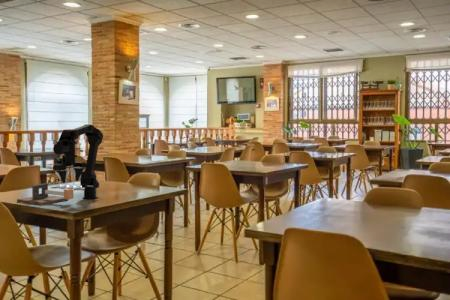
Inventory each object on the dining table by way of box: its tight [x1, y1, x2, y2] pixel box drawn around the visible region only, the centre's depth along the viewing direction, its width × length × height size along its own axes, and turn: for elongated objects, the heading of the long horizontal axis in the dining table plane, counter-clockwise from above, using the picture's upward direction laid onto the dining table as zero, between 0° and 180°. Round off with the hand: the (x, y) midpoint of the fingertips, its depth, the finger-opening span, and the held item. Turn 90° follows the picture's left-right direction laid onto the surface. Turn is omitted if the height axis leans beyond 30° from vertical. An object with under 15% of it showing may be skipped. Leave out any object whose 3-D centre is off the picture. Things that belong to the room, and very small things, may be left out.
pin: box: [45, 188, 74, 200], centre depth 260 cm, size 18×4×5 cm, turn 61°
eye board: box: [16, 183, 69, 206], centre depth 266 cm, size 20×18×9 cm
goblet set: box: [54, 167, 88, 188], centre depth 324 cm, size 28×6×13 cm, turn 69°
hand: (70, 182), depth 257 cm, fingers open, 9 cm apart
